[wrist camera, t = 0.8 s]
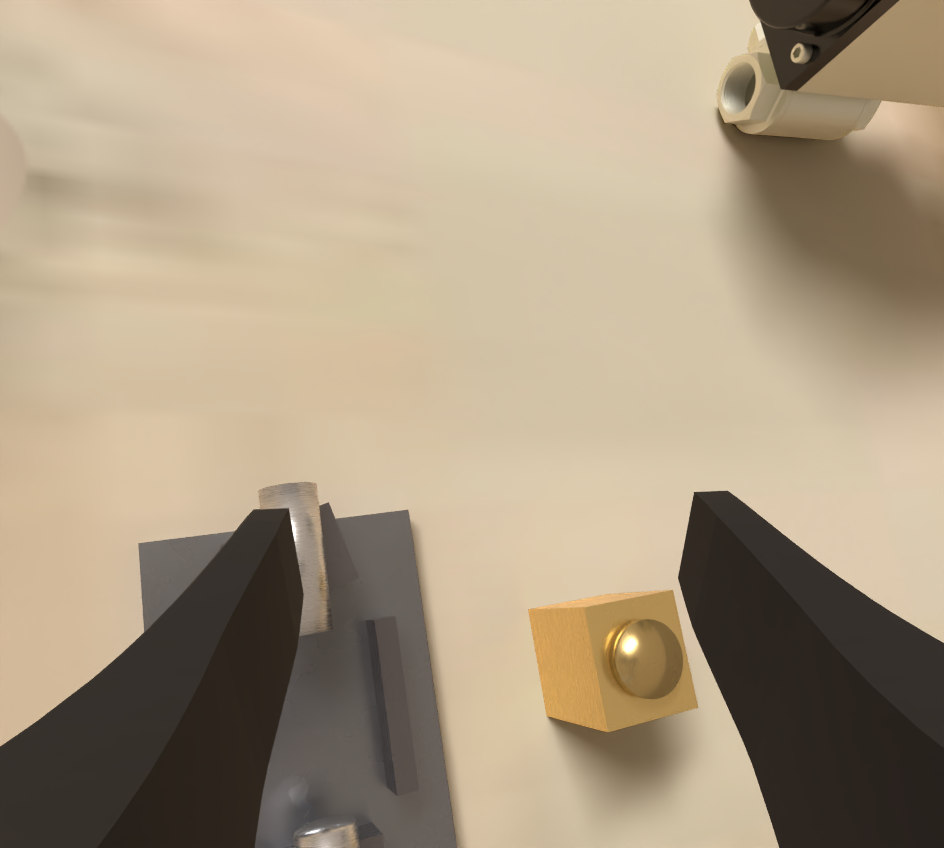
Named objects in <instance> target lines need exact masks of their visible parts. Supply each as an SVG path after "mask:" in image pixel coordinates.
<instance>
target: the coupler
mask: <svg viewBox="0 0 944 848" xmlns="http://www.w3.org/2000/svg"><path fill="white" fill-rule="evenodd" d="M528 611H529V617H530V622H531V628H532V634H533V640H534V645H535V651H536V657H537V663H538V668H539V674H540V680H541V686H542V691H543V697H544V703H545V709H546V715H547V716H548V717H552V718H556V719H560V720H563V721H567V722H571V723H575V724H578V725H582V726H586V727H590V728H593V729H597V730H601V731H604V732H611V731H615V730H619V729H622V728H626V727H629V726H633V725H637V724H640V723H644V722H648V721H651V720H655V719H658V718H662V717H666V716H669V715H673V714H677V713H680V712H684V711H688V710H691V709H695V708H698V705H697V700H696V696H695V691H694V686H693V682H692V677H691V672H690V668H689V663H688V658H687V654H686V649H685V644H684V640H683V635H682V630H681V626H680V621H679V616H678V612H677V607H676V602H675V598H674V593H673V590H664V591H649V592H634V593H619V594H606V595H601V596H596V597H591V598H585V599H580V600H575V601H570V602H564V603H559V604H554V605H549V606H543V607H538V608H533V609H528Z"/></svg>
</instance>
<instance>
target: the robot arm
mask: <svg viewBox="0 0 944 848" xmlns="http://www.w3.org/2000/svg"><path fill="white" fill-rule="evenodd" d="M678 579H679V583H680V586H681V590H682V594H683V597H684V601H685V604H686V608H687V611H688V614H689V617H690V621H691V624H692V627H693V630H694V632H695V634H696V637H697V639H698V642H699V644H700V646H701V648H702V651H703V653H704V655H705V657H706V660H707V662H708V664H709V667H710V669H711V671H712V673H713V675H714V678H715V680H716V682H717V684H718V687H719V689H720V691H721V693H722V695H723V698H724V700H725V702H726V704H727V707H728V709H729V711H730V713H731V715H732V718H733V720H734V722H735V724H736V727H737V729H738V731H739V733H740V735H741V738H742V740H743V742H744V745H745V747H746V750H747V752H748V755H749V758H750V760H751V763H752V765H753V768H754V771H755V774H756V777H757V780H758V783H759V786H760V789H761V792H762V795H763V798H764V801H765V804H766V807H767V810H768V813H769V816H770V819H771V822H772V825H773V829H774V832H775V835H776V838H777V842H778V845H779V848H944V643H943V642H941V641H939V640H937V639H936V638H934V637H932V636H930V635H929V634H927V633H925V632H924V631H922V630H920V629H919V628H917V627H915V626H914V625H912V624H910V623H909V622H907V621H905V620H904V619H902V618H900V617H899V616H897V615H895V614H894V613H892V612H890V611H889V610H887V609H886V608H884V607H883V606H881V605H879V604H878V603H876V602H875V601H873V600H872V599H870V598H869V597H868V596H866V595H865V594H863V593H862V592H860V591H859V590H857V589H856V588H854V587H853V586H852V585H850V584H849V583H847V582H846V581H844V580H843V579H841V578H840V577H839V576H837V575H836V574H835V573H833V572H832V571H830V570H829V569H828V568H826V567H825V566H824V565H822V564H821V563H820V562H818V561H817V560H816V559H814V558H813V557H812V556H810V555H809V554H808V553H806V552H805V551H804V550H803V549H801V548H800V547H799V546H797V545H796V544H795V543H794V542H792V541H791V540H790V539H788V538H787V537H786V536H785V535H783V534H782V533H781V532H780V531H778V530H777V529H776V528H775V527H773V526H772V525H771V524H770V523H768V522H767V521H766V520H765V519H763V518H762V517H761V516H760V515H758V514H757V513H756V512H755V511H753V510H752V509H751V508H750V507H748V506H747V505H746V504H745V503H743V502H742V501H741V500H739V499H738V498H737V497H735V496H734V495H733V494H731V493H730V492H729V491H711V492H694V496H693V501H692V507H691V512H690V517H689V523H688V528H687V533H686V539H685V544H684V549H683V555H682V560H681V565H680V571H679V576H678ZM303 598H304V593H303V587H302V581H301V575H300V569H299V564H298V558H297V552H296V546H295V540H294V535H293V529H292V523H291V517H290V511H289V508H281V509H256V510H253V511H252V512H251V513H250V514H249V515H248V516H247V517H246V519H245V520H244V521H243V522H242V523H241V525H240V526H239V527H238V528H237V530H236V531H235V532H234V533H233V535H232V536H231V537H230V538H229V539H228V541H227V542H226V543H225V544H224V546H223V547H222V548H221V549H220V550H219V552H218V553H217V554H216V555H215V556H214V558H213V559H212V560H211V561H210V562H209V563H208V565H207V566H206V567H205V568H204V569H203V570H202V571H201V573H200V574H199V575H198V576H197V577H196V578H195V579H194V580H193V582H192V583H191V584H190V585H189V586H188V587H187V588H186V590H185V591H184V592H183V593H182V594H181V595H180V596H179V597H178V598H177V599H176V600H175V601H174V602H173V604H172V605H171V606H170V607H169V608H168V609H167V610H166V611H165V612H164V613H163V614H162V615H161V616H160V617H159V618H158V619H157V620H156V621H155V622H154V623H153V624H152V625H151V626H150V627H149V628H148V629H147V630H146V631H145V632H144V633H143V634H142V635H141V636H140V637H139V638H138V639H137V640H136V641H135V642H134V643H133V644H132V645H130V646H129V647H128V648H127V649H126V650H125V651H124V652H123V653H122V654H121V655H120V656H118V657H117V658H116V659H115V660H114V661H113V662H112V663H110V664H109V665H108V666H107V667H106V668H105V669H103V670H102V671H101V672H100V673H99V674H98V675H96V676H95V677H94V678H93V679H92V680H90V681H89V682H88V683H86V684H85V685H84V686H83V687H81V688H80V689H79V690H77V691H76V692H75V693H73V694H72V695H71V696H69V697H68V698H67V699H66V700H64V701H63V702H62V703H60V704H59V705H58V706H56V707H55V708H54V709H52V710H51V711H50V712H49V713H47V714H46V715H45V716H43V717H42V718H41V719H39V720H38V721H37V722H35V723H34V724H32V725H31V726H30V727H28V728H27V729H25V730H24V731H22V732H21V733H19V734H18V735H17V736H15V737H14V738H12V739H11V740H9V741H8V742H6V743H5V744H3V745H2V746H0V848H255V841H256V834H257V827H258V821H259V814H260V807H261V800H262V794H263V789H264V784H265V779H266V774H267V769H268V765H269V761H270V757H271V753H272V749H273V745H274V741H275V737H276V733H277V729H278V725H279V721H280V717H281V713H282V709H283V705H284V701H285V697H286V693H287V689H288V685H289V681H290V677H291V673H292V669H293V664H294V660H295V656H296V652H297V648H298V640H299V632H300V625H301V616H302V607H303Z"/></svg>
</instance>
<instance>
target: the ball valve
mask: <svg viewBox="0 0 944 848" xmlns="http://www.w3.org/2000/svg"><path fill="white" fill-rule="evenodd" d="M749 2H750V4H751V7H752V9H753V11H754V13H755V14H756V16H757V17H758V18H759V19H760V22H759V23H758V24H757V25H756V26H755V27H754V28H753V30H752V33H751V36H750V39H749V44H748V52H749V54H745V55H741V56H738V57H735V58H732V59H731V61H730V63H729V64H728V66H727V68H726V69H725V71H724V73H723V75H722V78H721V80H720V83H719V87H718V90H717V102H718V107H719V110H720V113H721V116H722V118H723V120H724V122H725V123H732V124H735V125H736V127H737V128H738V129H739V130H741V131H742V132H744V133H747V134H758V135H771V136H785V137H797V138H810V139H822V140H836V139H839V138H842V137H844V136H846V135H847V134H849V133H850V132H851V131H856V130H863V129H864V128H865V127H866V126H867V124H868V123H869V122H870V120H871V119H872V117H873V116H874V114H875V112H876V111H877V109H878V107H879V105H880V103H881V101H890V102H899V103H908V104H917V105H926V106H935V107H944V0H749Z"/></svg>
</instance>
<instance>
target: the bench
mask: <svg viewBox="0 0 944 848" xmlns="http://www.w3.org/2000/svg"><path fill="white" fill-rule="evenodd" d="M258 496H259V506H260V509H281V508H289V511H290V517H291V523H292V529H293V535H294V540H295V546H296V552H297V558H298V564H299V569H300V575H301V581H302V587H303V593H304V598H303V607H302V616H301V625H300V632H299V640H298V648H297V652H296V656H295V660H294V664H293V669H292V673H291V677H290V681H289V685H288V689H287V693H286V697H285V701H284V705H283V709H282V713H281V717H280V721H279V725H278V729H277V733H276V737H275V741H274V745H273V749H272V753H271V757H270V761H269V765H268V769H267V774H266V779H265V784H264V789H263V794H262V800H261V807H260V814H259V821H258V827H257V834H256V841H255V848H457V845H456V838H455V831H454V824H453V817H452V810H451V803H450V796H449V789H448V782H447V776H446V769H445V762H444V755H443V748H442V741H441V734H440V727H439V720H438V713H437V706H436V699H435V692H434V685H433V678H432V671H431V664H430V657H429V651H428V644H427V637H426V630H425V623H424V616H423V609H422V602H421V595H420V588H419V581H418V574H417V567H416V560H415V553H414V546H413V539H412V532H411V526H410V519H409V512H408V510H403V511H395V512H387V513H379V514H371V515H363V516H355V517H347V518H339V519H335V517H334V514H333V512H332V510H331V507H330V505H329V502H328V503H326V504H323V505H321V506H319V501H318V492H317V484H316V483H311V482H300V483H288V484H281V485H275V486H270V487H266V488H263V489H261V490H259V491H258ZM234 532H235V531H234ZM234 532H226V533H218V534H210V535H202V536H194V537H186V538H178V539H170V540H162V541H154V542H146V543H138V544H139V559H140V574H141V589H142V604H143V619H144V632H145V631H146V630H147V629H148V628H149V627H150V626H151V625H152V624H153V623H154V622H155V621H156V620H157V619H158V618H159V617H160V616H161V615H162V614H163V613H164V612H165V611H166V610H167V609H168V608H169V607H170V606H171V605H172V604H173V602H174V601H175V600H176V599H177V598H178V597H179V596H180V595H181V594H182V593H183V592H184V591H185V590H186V588H187V587H188V586H189V585H190V584H191V583H192V582H193V580H194V579H195V578H196V577H197V576H198V575H199V574H200V573H201V571H202V570H203V569H204V568H205V567H206V566H207V565H208V563H209V562H210V561H211V560H212V559H213V558H214V556H215V555H216V554H217V553H218V552H219V550H220V549H221V548H222V547H223V546H224V544H225V543H226V542H227V541H228V539H229V538H230V537H231V536H232V535H233V533H234Z"/></svg>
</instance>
